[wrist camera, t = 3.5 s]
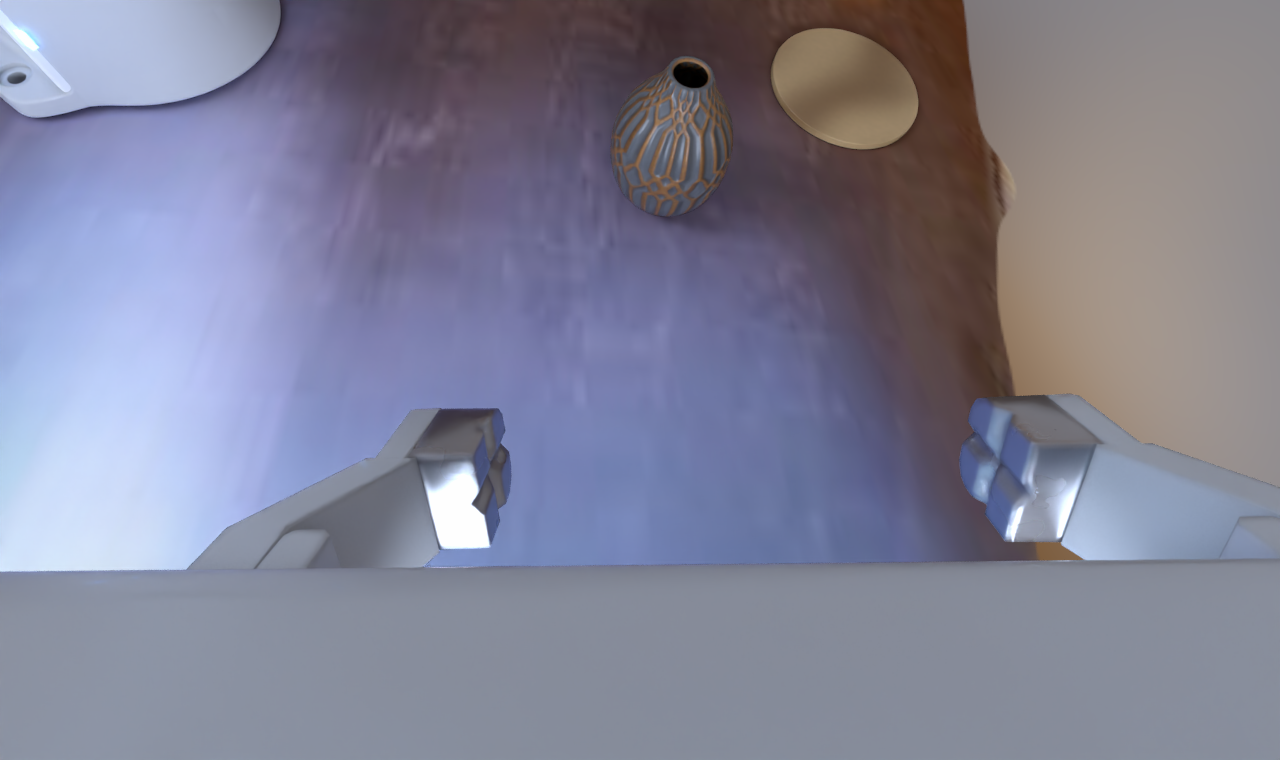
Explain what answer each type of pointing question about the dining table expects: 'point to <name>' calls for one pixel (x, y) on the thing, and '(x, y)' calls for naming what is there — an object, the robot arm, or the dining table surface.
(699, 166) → the vase
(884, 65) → the cork trivet
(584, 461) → the dining table surface
